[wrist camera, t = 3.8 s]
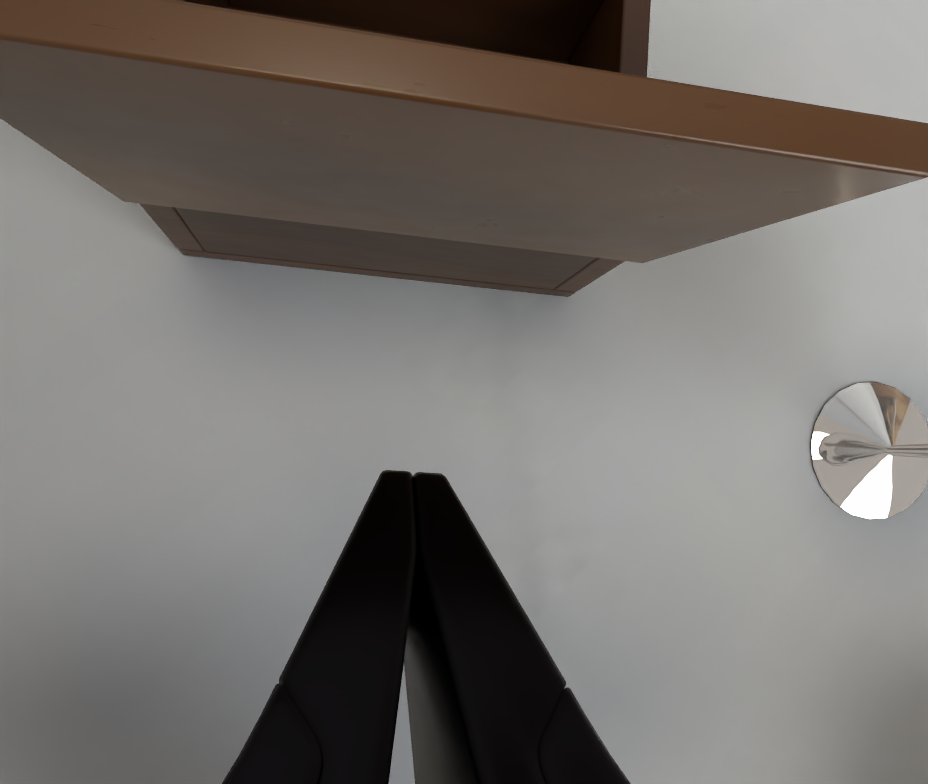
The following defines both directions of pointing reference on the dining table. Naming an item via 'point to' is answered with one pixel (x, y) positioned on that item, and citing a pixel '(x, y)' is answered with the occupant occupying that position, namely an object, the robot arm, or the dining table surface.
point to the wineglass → (871, 450)
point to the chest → (412, 257)
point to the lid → (422, 132)
